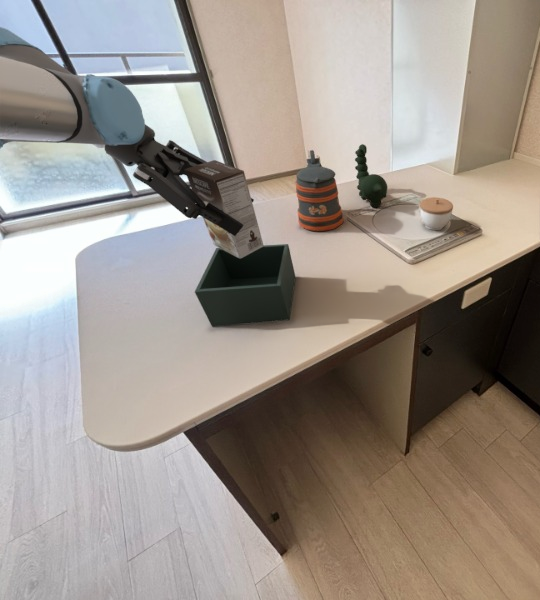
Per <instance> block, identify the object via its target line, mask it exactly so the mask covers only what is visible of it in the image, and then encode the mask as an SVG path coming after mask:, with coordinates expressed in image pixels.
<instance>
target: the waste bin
mask: <svg viewBox="0 0 540 600" xmlns="http://www.w3.org/2000/svg"><path fill="white" fill-rule="evenodd" d="M263 245H264V244H263ZM291 254H292V253H291V250H290V245H289V243H284V244H267V245H266V244H265V245H264V246H263V247H261V248H259V249H258V250H256V251H254V252H252V253H250V254H248V255H246V256H245V257H243V258H241V259H240V258H238V257H236V256H234V255H232V254H230V253H228V252H226V251H224V250H222V249H220V248H219V247H216V248H215V250H214V251H213V254H212V256H211V258H210V260H209V261H208V264H207V266H206V268H205V270H204V272H203V274H202V276H201V278H200V280H199V282H198V283H197V286H196V287H195V290H194V294H195V296H196V298H197V300H198V302H199V304H200V305H201V308H202V310H203V312H204V314H205V316H206V318H207V320H208V321H209V324H210V326H211V328H212V327H224V326H225V327H226V326H234V325H235V326H236V325H247V324H258V323H259V324H260V323H269V322H270V323H271V322H281V321H290V319H291V313H292V305H293V298H294V290H295V283H296V273H295V268H294V264H293V259H292V255H291Z"/></svg>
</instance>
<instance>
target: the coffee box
mask: <svg viewBox="0 0 540 600" xmlns="http://www.w3.org/2000/svg"><path fill="white" fill-rule="evenodd" d="M206 162H207V163H203V164H200V165H196V166H193V167H190V168H187V169H184V170H185V173H186V175H187V176H186V175H185V176H186V178H187V180H188V183H189V187H190V188H191V189H192V190H193V191H194V192H195V193H196V194H197V196H198V197H199V198H200V199H201V200H202V201H203V202H204V203H205V204H206V205H207V204H208V203H210V204H212V205H214V206H215V207H217V208H218V209H220V210H221V211H223V212H224V213H226V214H228V215H229V216H231V217H232V218H234V219H235V220H237V221H239V222H240V223H242V224H243V227H242V228H241V230H240V231H239V232H238V233H237V234H236V236H234V235H232V234H230V233H229V232H227V231H225V230H224V229H222V228H221V227H219V226H217V225H215V224H213V223H212V222H210V221H208V220H207V219H205V218H204V217H202V219H203V221H204V224H205V227H206V230H207V232H208V235H209V237H210V240H211V242H212V244H213V246H214V247H216V248H220V249H222V250H224V251H226V252H228V253H230V254H232V255H234V256H236V257H238V258H240V259H241V258H243V257H245V256H246V255H248V254H250V253H252V252H254V251H256V250H258V249H259V248H261V247H263V246H264V242H263V238H262V235H261V234H262V233H261V229H260V226H259V222H258V219H257V216H256V211H255V207H254V205H253V202H252V200H251V198H252V197H251V192H250V190H249V189H250V188H249V185H248V182H247V178H246V177H247V176H246V175H245V174H246V173H245V171H244V170H243V169H239V168H237V167H234V166H231V165H229V164H226V163H224V162H221V161H218V160H215V159H213V160H210V161H206Z"/></svg>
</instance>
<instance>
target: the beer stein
mask: <svg viewBox="0 0 540 600" xmlns="http://www.w3.org/2000/svg"><path fill="white" fill-rule="evenodd" d="M315 155H316V154H315V151H314V149H311V150H309V157H310V158H306V164H307V165H306V167H304V168H302V169H300V170H298V172H297V173H296V180H295V189H296V190H295V193H296V197H297V202H298V203H297V204H298V208H297V216H298V224H299V226H300V227H301V228H303V229H304V230H307V231H309V232H310V231H311V232H328V231H331V230H335V229H337V228H338V227H340V226H341V225H342V224H343V223H344V217H343V209H342V206H341V204H340V199H339V190H338V186H337V180H336V178H335V177H336V172H335V171H334V170H333V169H331V168H329V167H325V166H322V163H321V162H320V157H316V156H315Z"/></svg>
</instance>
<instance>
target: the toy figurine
mask: <svg viewBox="0 0 540 600" xmlns="http://www.w3.org/2000/svg"><path fill="white" fill-rule="evenodd" d="M367 149H368V148H367V146H366V144H363V143H361V144H360V145H359V146H358V149H357V150H355V152H354V153H355V155H356V157H355V158H354V161H355V162H356V164H357V165H356V166H355V167H354V170H355V171H357V174H356V176H355V177H356V179H357V180H358V185H357V186H356V189H357V190H359V191H358V195H359V197H360V198H361V199H362V200H363V201H369V206H370V207H372V208H379V207H381V206H382V200H384V199H386V198H387V196H388V195H387V193H388V183H387V181H386V180H385V179H384V177H383V176H381V175H380V174H377V173H371V174H370V172H369V171H368V169H369V167H368V164H367V160H368V159H367V156H366V154H367Z"/></svg>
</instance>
